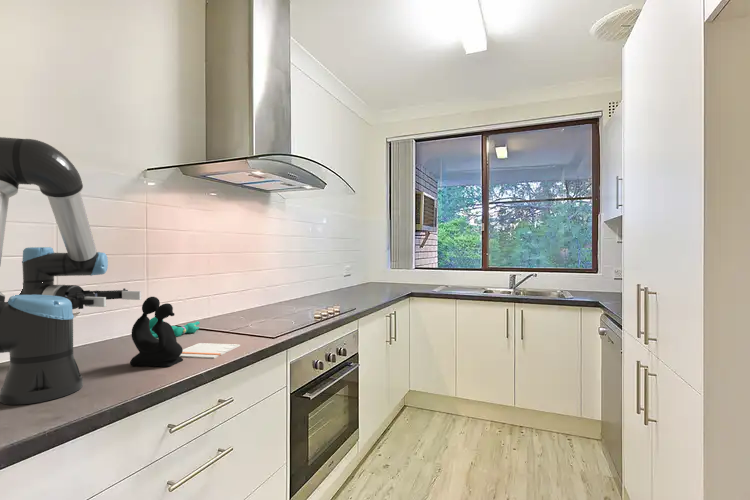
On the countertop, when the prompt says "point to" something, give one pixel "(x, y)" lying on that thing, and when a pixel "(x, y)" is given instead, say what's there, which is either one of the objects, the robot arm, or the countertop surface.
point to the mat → (207, 350)
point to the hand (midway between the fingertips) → (123, 298)
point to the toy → (176, 328)
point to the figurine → (148, 346)
